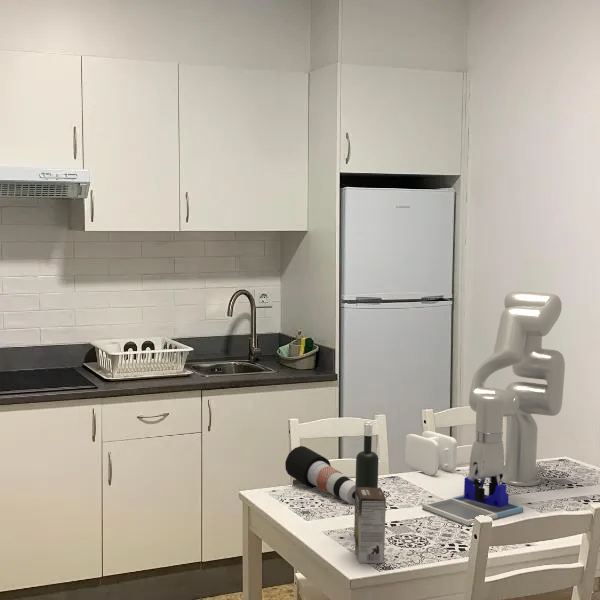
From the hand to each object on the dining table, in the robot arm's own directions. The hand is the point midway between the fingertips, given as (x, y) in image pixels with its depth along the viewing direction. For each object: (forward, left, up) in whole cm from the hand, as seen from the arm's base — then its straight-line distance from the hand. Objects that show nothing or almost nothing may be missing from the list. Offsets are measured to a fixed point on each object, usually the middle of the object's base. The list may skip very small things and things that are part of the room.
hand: (486, 498), depth 274 cm
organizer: (-14, -38, -3) cm, 41 cm away
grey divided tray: (+6, 0, -3) cm, 6 cm away
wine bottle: (+45, -1, -3) cm, 45 cm away
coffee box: (+54, +11, -3) cm, 55 cm away
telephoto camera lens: (+29, -35, -3) cm, 46 cm away
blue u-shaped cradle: (0, 0, -1) cm, 1 cm away
